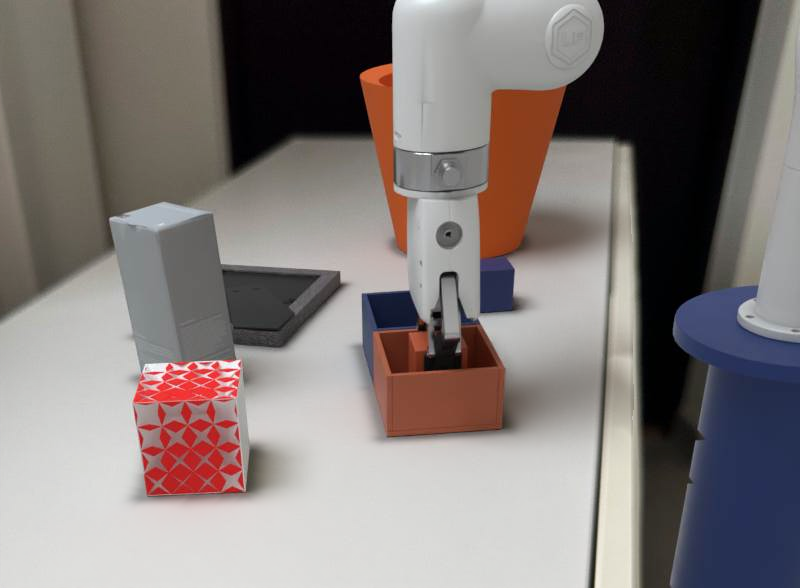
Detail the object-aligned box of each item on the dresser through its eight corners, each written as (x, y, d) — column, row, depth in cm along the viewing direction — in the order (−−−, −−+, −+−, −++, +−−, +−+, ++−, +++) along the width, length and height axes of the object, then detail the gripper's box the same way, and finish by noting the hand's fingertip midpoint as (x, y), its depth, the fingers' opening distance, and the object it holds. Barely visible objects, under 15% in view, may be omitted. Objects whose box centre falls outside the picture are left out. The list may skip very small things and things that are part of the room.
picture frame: (279, 347, 109) (340, 284, 125) (277, 328, 108) (340, 267, 124) (140, 336, 114) (217, 276, 130) (138, 317, 113) (215, 260, 129)
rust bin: (478, 381, 100) (481, 324, 97) (501, 429, 91) (505, 368, 88) (373, 388, 100) (372, 331, 96) (386, 436, 91) (386, 376, 88)
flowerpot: (585, 227, 140) (602, 59, 128) (507, 282, 123) (518, 94, 112) (419, 209, 151) (420, 53, 140) (326, 256, 135) (320, 84, 123)
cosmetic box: (240, 381, 102) (224, 210, 93) (180, 402, 99) (157, 227, 89) (190, 359, 108) (170, 195, 98) (131, 379, 104) (105, 211, 95)
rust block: (457, 377, 96) (458, 328, 94) (466, 396, 93) (467, 347, 90) (408, 380, 96) (408, 332, 93) (415, 400, 92) (415, 350, 90)
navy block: (503, 297, 119) (506, 256, 116) (512, 310, 115) (515, 268, 113) (464, 300, 119) (466, 259, 116) (471, 313, 115) (473, 271, 112)
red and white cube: (245, 491, 84) (236, 398, 79) (147, 496, 84) (132, 403, 79) (249, 447, 90) (241, 358, 86) (158, 452, 90) (145, 363, 86)
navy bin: (458, 340, 109) (460, 286, 105) (478, 380, 100) (480, 323, 97) (362, 346, 108) (361, 293, 105) (373, 387, 100) (372, 330, 96)
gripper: (509, 190, 77) (497, 423, 87) (468, 143, 90) (462, 349, 101) (407, 197, 77) (407, 429, 87) (381, 149, 90) (384, 355, 101)
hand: (437, 384), depth 94 cm, fingers closed on rust block, 4 cm apart
